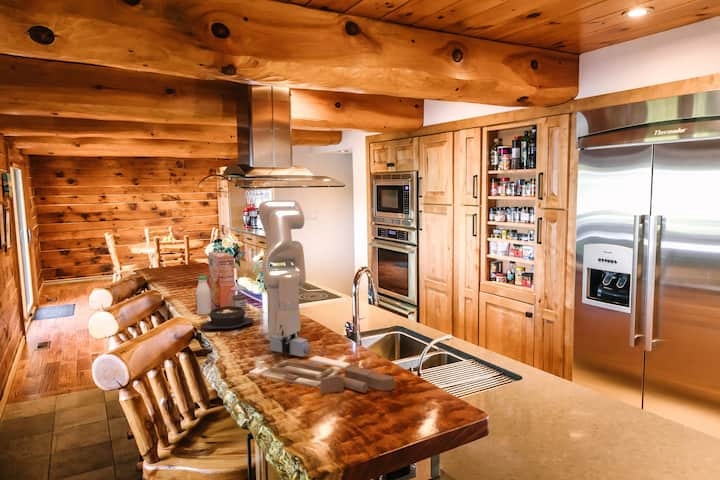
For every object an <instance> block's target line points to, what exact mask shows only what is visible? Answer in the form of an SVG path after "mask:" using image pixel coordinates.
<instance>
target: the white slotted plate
mask: <svg viewBox="0 0 720 480" xmlns="http://www.w3.org/2000/svg"><path fill="white" fill-rule="evenodd" d="M268 371H270V368H269V367H266V366H265V361H264V360H261V361H258V366H257V367H255V368H254V369H251V370H250V371H248V375H252V376H257V377H259V376H262V375H263V374H264V373H266V372H268Z"/></svg>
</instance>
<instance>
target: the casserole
mask: <svg viewBox="0 0 720 480" xmlns="http://www.w3.org/2000/svg"><path fill="white" fill-rule="evenodd" d="M245 314H246V312H245V311H244V309H243V308H242V307H237V306H225V307H218V308H213V309H212V308H211V312H210V314H208V317H209V318H210V321H206V322H202V323H200V325H199V326H200V328H202V329H205V330H221V331H222V330H226V331H227V330H234V329H237V328H240V327H242V326H245V325H250V324H252V323H254V322H255V320H254V319H253V318H252V317H249V316H244V315H245Z"/></svg>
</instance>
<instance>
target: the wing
mask: <svg viewBox="0 0 720 480" xmlns="http://www.w3.org/2000/svg"><path fill="white" fill-rule="evenodd" d="M309 362H313V363H318V364H323V365H327V366H331V367H335V368H340V369H346V368H348V367H350V366H351V363H350V362H346V361H345V362H344V361H342V360H337V359H332V358H327V357H324V356H323V357H322V356H318V355H314V356H313V357H310V358H309Z"/></svg>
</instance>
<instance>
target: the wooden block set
mask: <svg viewBox="0 0 720 480" xmlns="http://www.w3.org/2000/svg"><path fill="white" fill-rule="evenodd" d="M344 388H346V389H349V390H352V391H356V392H360V393H363V394H365V393H366V392H368V389H374V390H378V391H380V392H385V391H386V392H388V391H392V390H393V389H395V377H394V376H393V375H392V376H391V375H388V374H384V373H380V372H376V371H375V370H371V369H368V368H363V367H360V366H356V365H350V366H348V367H346V368H344V375H338V374H336V375H335V376H334V375H331V376H329V377H327V378H325V379H323V380H321V385H320V394H321V395H322V394H324V395H325V394H333V393H342V392H344Z"/></svg>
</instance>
